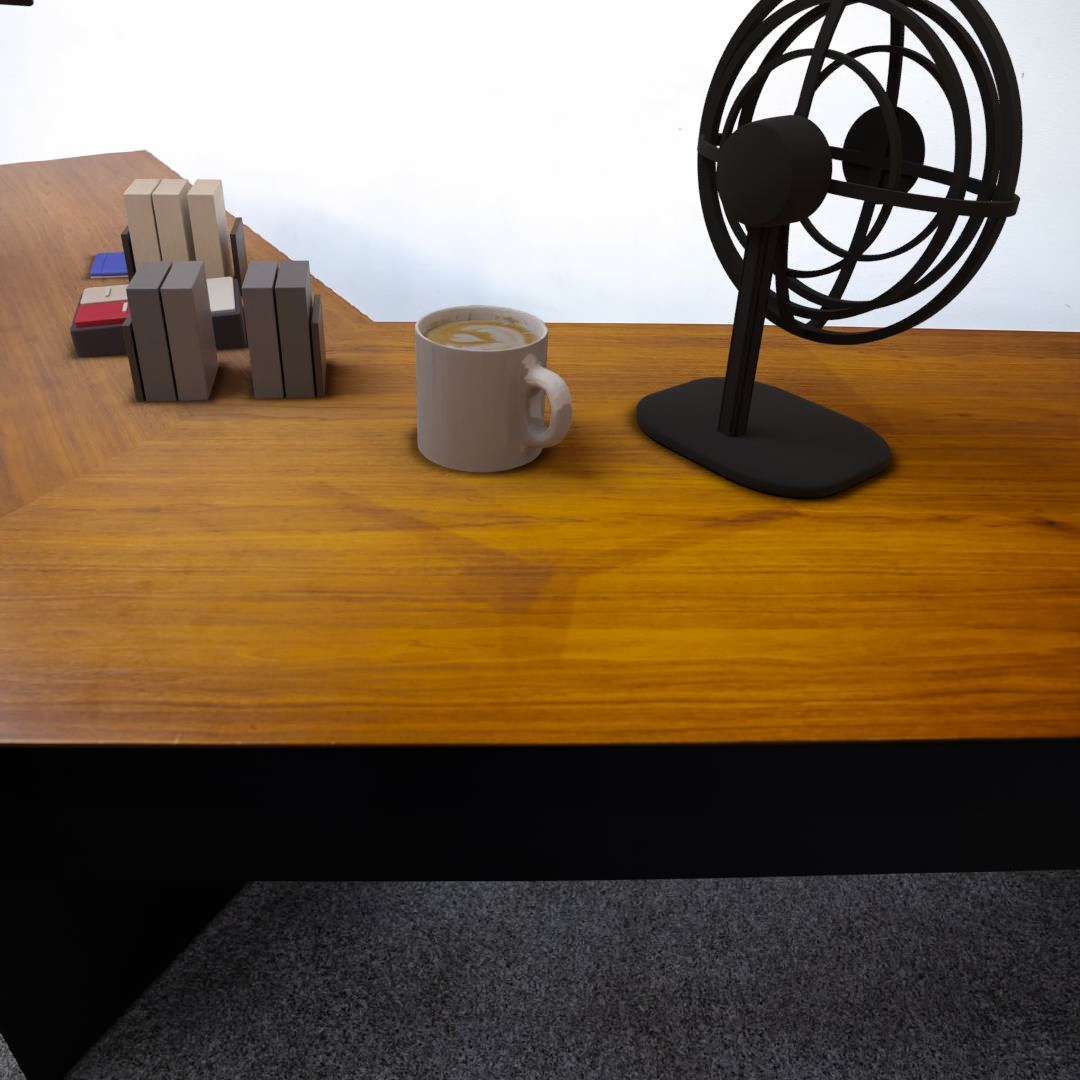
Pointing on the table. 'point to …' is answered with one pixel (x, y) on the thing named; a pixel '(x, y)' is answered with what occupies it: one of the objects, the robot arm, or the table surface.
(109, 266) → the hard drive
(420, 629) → the table surface
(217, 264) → the white book
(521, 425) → the coffee mug
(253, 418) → the table surface
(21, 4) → the robot arm
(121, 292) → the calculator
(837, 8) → the desk fan
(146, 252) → the white books
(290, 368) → the grey books
